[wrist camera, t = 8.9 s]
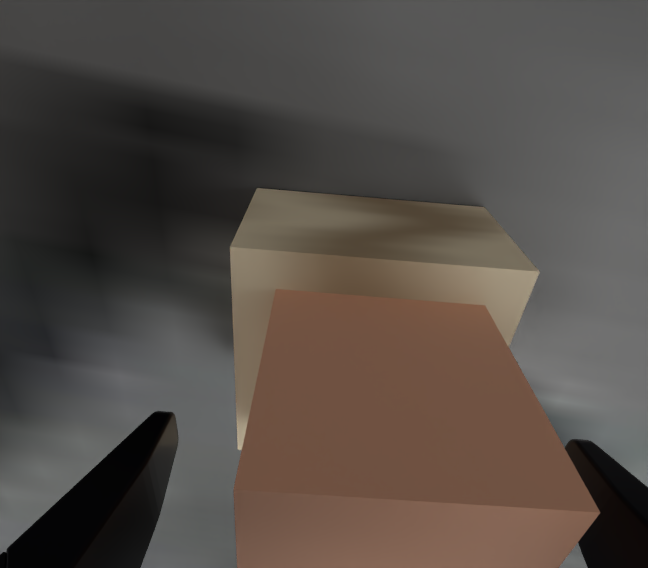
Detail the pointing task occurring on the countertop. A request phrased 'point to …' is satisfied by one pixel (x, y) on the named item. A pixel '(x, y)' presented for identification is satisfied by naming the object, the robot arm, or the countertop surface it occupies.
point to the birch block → (366, 263)
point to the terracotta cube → (399, 444)
